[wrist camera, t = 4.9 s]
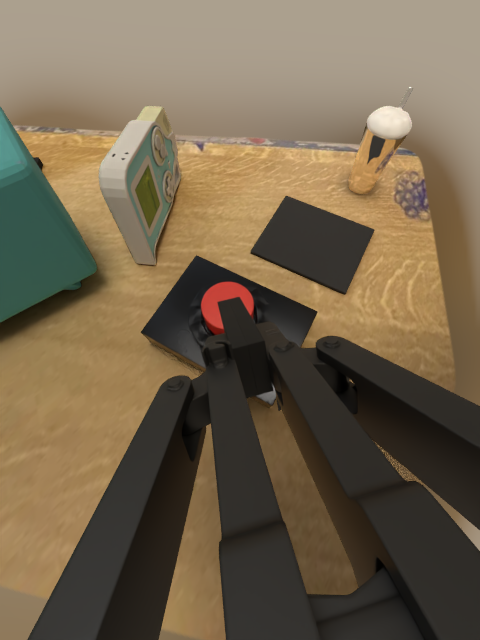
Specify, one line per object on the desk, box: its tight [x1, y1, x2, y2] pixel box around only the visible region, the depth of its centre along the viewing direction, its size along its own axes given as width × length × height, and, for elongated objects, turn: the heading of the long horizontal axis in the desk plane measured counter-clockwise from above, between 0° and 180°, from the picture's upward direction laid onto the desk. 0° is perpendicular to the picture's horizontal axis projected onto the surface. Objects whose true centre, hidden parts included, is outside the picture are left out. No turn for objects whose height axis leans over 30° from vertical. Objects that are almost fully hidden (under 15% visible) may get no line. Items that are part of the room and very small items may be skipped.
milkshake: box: [348, 87, 413, 194], centre depth 32 cm, size 4×5×10 cm
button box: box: [141, 255, 317, 408], centre depth 27 cm, size 14×10×5 cm
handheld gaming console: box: [99, 106, 181, 265], centre depth 31 cm, size 11×3×15 cm
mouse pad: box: [251, 196, 374, 295], centre depth 33 cm, size 12×10×1 cm
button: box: [201, 282, 254, 335], centre depth 24 cm, size 4×4×2 cm
